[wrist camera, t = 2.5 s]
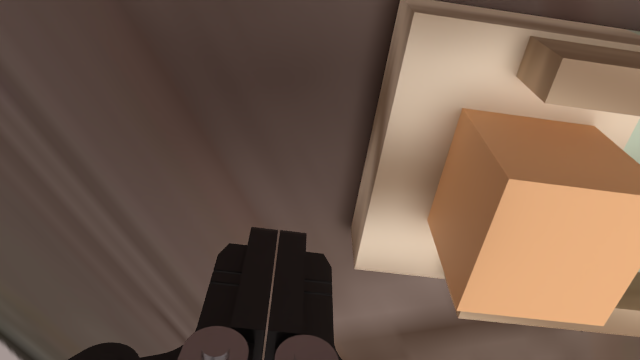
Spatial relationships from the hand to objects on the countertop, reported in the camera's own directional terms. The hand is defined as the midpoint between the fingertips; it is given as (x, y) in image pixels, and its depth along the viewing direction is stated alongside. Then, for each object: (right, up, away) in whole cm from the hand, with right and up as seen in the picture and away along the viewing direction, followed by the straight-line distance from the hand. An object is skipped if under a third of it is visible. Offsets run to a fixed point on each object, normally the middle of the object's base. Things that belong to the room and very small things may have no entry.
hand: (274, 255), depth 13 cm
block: (+8, +2, +5) cm, 10 cm away
